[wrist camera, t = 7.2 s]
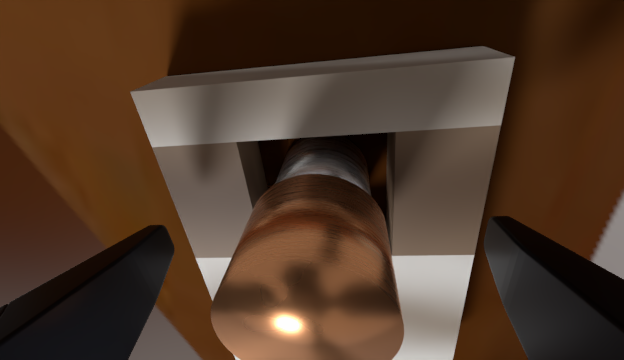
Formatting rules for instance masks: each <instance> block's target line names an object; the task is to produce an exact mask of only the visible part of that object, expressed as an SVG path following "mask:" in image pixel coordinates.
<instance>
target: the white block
mask: <svg viewBox="0 0 624 360" xmlns="http://www.w3.org/2000/svg"><path fill="white" fill-rule="evenodd" d="M514 60H515V57H514V56H511V55H508V54H505V53H502V52H499V51H496V50H493V49H491V48H488V47H485V46H477V47H466V48H456V49H446V50H435V51H425V52H415V53H404V54H394V55H383V56H373V57H363V58H352V59H342V60H332V61H321V62H311V63H300V64H290V65H280V66H269V67H259V68H249V69H238V70H228V71H217V72H207V73H197V74H186V75H176V76H166V77H164V78H161V79H159V80H157V81H154V82H152V83H150V84H147V85H145V86H143V87H140V88H138V89H136V90H133V91H131V95H132V97H133V100H134V103H135V105H136V108H137V110H138V113H139V115H140V118H141V120H142V123H143V125H144V128H145V130H146V133H147V136H148V138H149V141H150V143H151V146H152V148H153V151H154V153H155V156H156V158H157V161H158V163H159V166H160V169H161V171H162V174H163V176H164V179H165V181H166V184H167V186H168V189H169V191H170V194H171V196H172V199H173V202H174V204H175V207H176V209H177V212H178V214H179V217H180V219H181V222H182V224H183V227H184V229H185V232H186V235H187V237H188V240H189V242H190V245H191V247H192V250H193V252H194V255H195V257H196V260H197V262H198V265H199V268H200V270H201V273H202V275H203V278H204V280H205V283H206V285H207V288H208V290H209V293H210V295H211V298H212V301H213V299H214V297H215V294H216V292H217V290H218V288H219V285H220V283H221V281H222V279H223V276H224V274H225V272H226V270H227V267H228V265H229V263H230V261H231V258H232V256H233V254H234V252H235V249H236V247H237V245H238V242H239V240H240V238H241V236H242V233H243V231H244V229H245V227H246V224H247V222H248V220H249V218H250V215H251V213H252V211H253V209H254V206H255V205H256V203H257V201H258V199H259V198H260V197H261V195H262V194H263V193H264V192H265V191H266V190H267V189H268V187H267V182H266V177H265V172H264V167H263V162H262V158H261V153H260V148H259V143H258V141H260V140H276V139H291V138H307V137H323V136H339V135H355V134H370V133H386V132H387V182H386V221H385V222H386V227H387V232H388V238H389V244H390V249H391V255H392V261H393V266H394V272H395V278H396V284H397V289H398V295H399V301H400V306H401V312H402V318H403V323H404V338H403V343H402V345H401V348H400V350H399V351H398V353H397V354H396V356H395V357H394V358H393V359H392V360H453V356H454V351H455V347H456V342H457V337H458V332H459V327H460V322H461V317H462V313H463V308H464V303H465V298H466V293H467V288H468V283H469V279H470V274H471V269H472V264H473V259H474V254H475V249H476V245H477V240H478V235H479V230H480V225H481V220H482V215H483V211H484V206H485V201H486V196H487V191H488V186H489V181H490V177H491V172H492V167H493V162H494V157H495V152H496V147H497V143H498V138H499V133H500V128H501V123H502V118H503V113H504V109H505V104H506V99H507V94H508V89H509V84H510V79H511V75H512V70H513V65H514ZM234 356H235V355H234ZM235 359H236V360H240V359H239V358H237V357H236V356H235Z"/></svg>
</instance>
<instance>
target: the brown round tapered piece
mask: <svg viewBox="0 0 624 360" xmlns="http://www.w3.org/2000/svg"><path fill="white" fill-rule="evenodd" d="M211 320H212V325H213V328H214V330H215V332H216V334H217V336H218V338H219V339H220V340H221V342H222V343H223V345H224V346H225V347H226V348H227V349H228V350H229V351H230V352H231V353H233V354H234V355H235V356H236V357H237V358H239V359H240V360H392V359H393V358H394V357H395V356H396V354H397V353H398V351H399V350H400V348H401V345H402V343H403V338H404V323H403V318H402V312H401V306H400V301H399V295H398V289H397V284H396V278H395V272H394V266H393V261H392V255H391V249H390V244H389V238H388V232H387V227H386V222H385V218H384V215H383V213H382V211H381V209H380V207H379V205H378V204H377V202H376V201H375V200H374V199H373V198H372V197H371V192H370V184H369V176H368V168H367V163H366V160H365V157H364V155H363V153H362V152H361V150H360V149H359V148H358V147H357V146H356V145H355V144H354V143H353V142H351V141H350V140H348V139H346V138H344V137H342V136H323V137H307V138H302V139H300V140H299V141H297V142H296V143H295V144H294V145H293V146H292V147H291V148H290V150H289V151H288V153H287V154H286V156H285V159H284V162H283V164H282V167H281V169H280V172H279V175H278V177H277V180H276V182H275V184H274V185H273V186H271V187H270V188H269V189H267V190H266V191H265V192H264V193H263V194H262V195H261V197H260V198H259V199H258V201H257V203H256V205H255V206H254V209H253V211H252V213H251V215H250V218H249V220H248V222H247V224H246V227H245V229H244V231H243V233H242V236H241V238H240V240H239V242H238V245H237V247H236V249H235V252H234V254H233V256H232V258H231V261H230V263H229V265H228V267H227V270H226V272H225V274H224V276H223V279H222V281H221V283H220V285H219V288H218V290H217V292H216V294H215V297H214V299H213V302H212V306H211Z"/></svg>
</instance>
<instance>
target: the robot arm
mask: <svg viewBox="0 0 624 360" xmlns="http://www.w3.org/2000/svg"><path fill="white" fill-rule="evenodd" d="M484 249H485V253H486V256H487V259H488V262H489V265H490V268H491V271H492V274H493V277H494V280H495V283H496V286H497V289H498V292H499V295H500V297H501V300H502V303H503V305H504V308H505V310H506V312H507V314H508V317H509V319H510V321H511V323H512V325H513V327H514V329H515V332H516V334H517V336H518V338H519V340H520V342H521V344H522V346H523V349H524V351H525V353H526V355H527V357H528V359H529V360H624V279H622V278H620V277H618V276H616V275H615V274H612V273H611V272H609V271H607V270H605V269H604V268H602V267H600V266H598V265H596V264H595V263H593V262H591V261H589V260H587V259H585V258H584V257H582V256H580V255H578V254H576V253H575V252H573V251H571V250H569V249H567V248H565V247H564V246H562V245H560V244H558V243H556V242H555V241H553V240H551V239H549V238H547V237H546V236H544V235H542V234H540V233H538V232H536V231H535V230H533V229H531V228H529V227H527V226H526V225H524V224H522V223H520V222H518V221H516V220H515V219H513V218H511V217H509V216H493V217H491V218H490V219H489V221H488V225H487V230H486V234H485V239H484ZM173 255H174V245H173V242H172V240H171V238H170V235H169V233H168V231H167V229H166V227H165V226H163V225H150V226H147V227H146V228H144V229H142V230H140V231H138V232H136V233H135V234H133V235H131V236H129V237H127V238H126V239H124V240H122V241H120V242H118V243H117V244H115V245H113V246H111V247H109V248H107V249H106V250H104V251H102V252H100V253H98V254H97V255H95V256H93V257H91V258H89V259H87V260H86V261H84V262H82V263H80V264H78V265H77V266H75V267H73V268H71V269H70V270H68V271H66V272H64V273H62V274H60V275H58V276H57V277H55V278H53V279H51V280H49V281H48V282H46V283H44V284H42V285H40V286H39V287H37V288H35V289H33V290H31V291H29V292H28V293H26V294H24V295H22V296H20V297H19V298H17V299H15V300H13V301H11V302H10V303H9V304H6V305H4V306H2V307H0V360H128V358H129V356H130V354H131V352H132V350H133V348H134V346H135V344H136V342H137V340H138V338H139V336H140V334H141V331H142V330H143V328H144V326H145V323H146V322H147V319H148V317H149V315H150V313H151V311H152V309H153V307H154V305H155V303H156V300H157V298H158V295H159V293H160V290H161V288H162V285H163V282H164V279H165V277H166V274H167V271H168V269H169V266H170V263H171V260H172V258H173Z"/></svg>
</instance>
